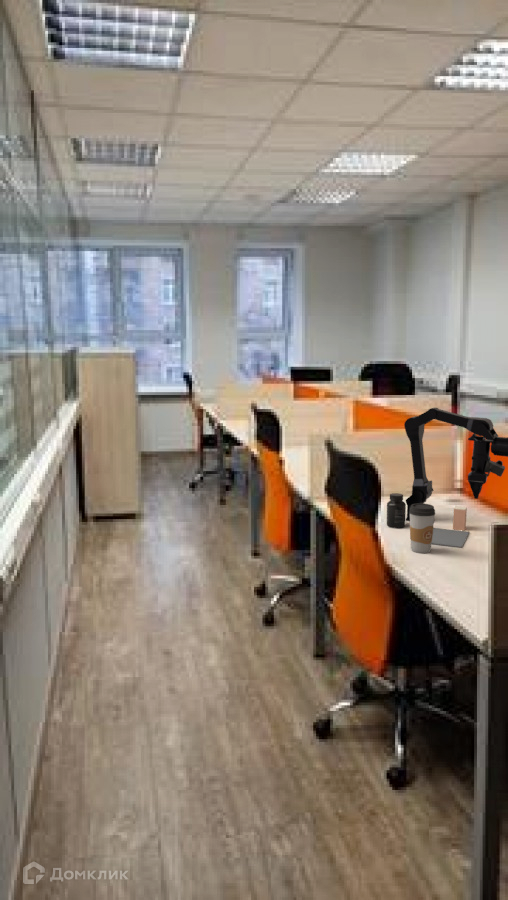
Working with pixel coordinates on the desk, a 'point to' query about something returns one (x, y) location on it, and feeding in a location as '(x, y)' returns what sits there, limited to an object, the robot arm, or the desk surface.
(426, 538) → the coffee cup
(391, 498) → the supplement bottle
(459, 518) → the block
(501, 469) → the robot arm
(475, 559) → the desk surface
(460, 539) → the mat
